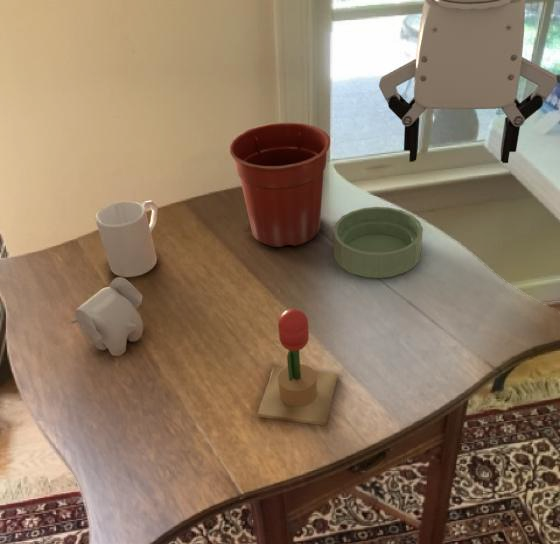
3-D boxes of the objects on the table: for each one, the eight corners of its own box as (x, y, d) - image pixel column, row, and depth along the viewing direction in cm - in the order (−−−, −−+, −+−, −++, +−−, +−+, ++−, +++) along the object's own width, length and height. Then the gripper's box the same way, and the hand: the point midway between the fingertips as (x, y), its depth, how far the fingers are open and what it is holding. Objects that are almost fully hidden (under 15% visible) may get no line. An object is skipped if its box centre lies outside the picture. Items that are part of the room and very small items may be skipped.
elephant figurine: (106, 309, 104) (91, 263, 98) (164, 332, 99) (152, 285, 93) (62, 345, 98) (43, 298, 92) (122, 371, 93) (106, 323, 87)
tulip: (320, 382, 88) (317, 300, 79) (312, 409, 85) (308, 327, 75) (284, 378, 89) (276, 297, 80) (275, 404, 86) (266, 323, 76)
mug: (181, 247, 116) (171, 196, 109) (134, 282, 109) (120, 231, 102) (148, 235, 119) (136, 185, 112) (100, 269, 112) (84, 218, 106)
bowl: (423, 235, 113) (425, 209, 110) (416, 284, 103) (418, 257, 100) (341, 229, 116) (341, 204, 113) (327, 277, 106) (326, 251, 103)
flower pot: (239, 210, 123) (229, 126, 112) (326, 202, 123) (324, 117, 112) (240, 259, 112) (228, 171, 100) (337, 251, 111) (336, 162, 100)
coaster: (337, 376, 90) (337, 373, 89) (326, 425, 83) (325, 422, 83) (274, 369, 92) (273, 366, 91) (257, 416, 85) (257, 413, 85)
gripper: (573, -36, 61) (539, 142, 73) (384, -27, 65) (382, 140, 76) (581, -12, 56) (543, 175, 67) (376, -4, 59) (374, 171, 71)
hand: (458, 156), depth 72 cm, fingers open, 9 cm apart
